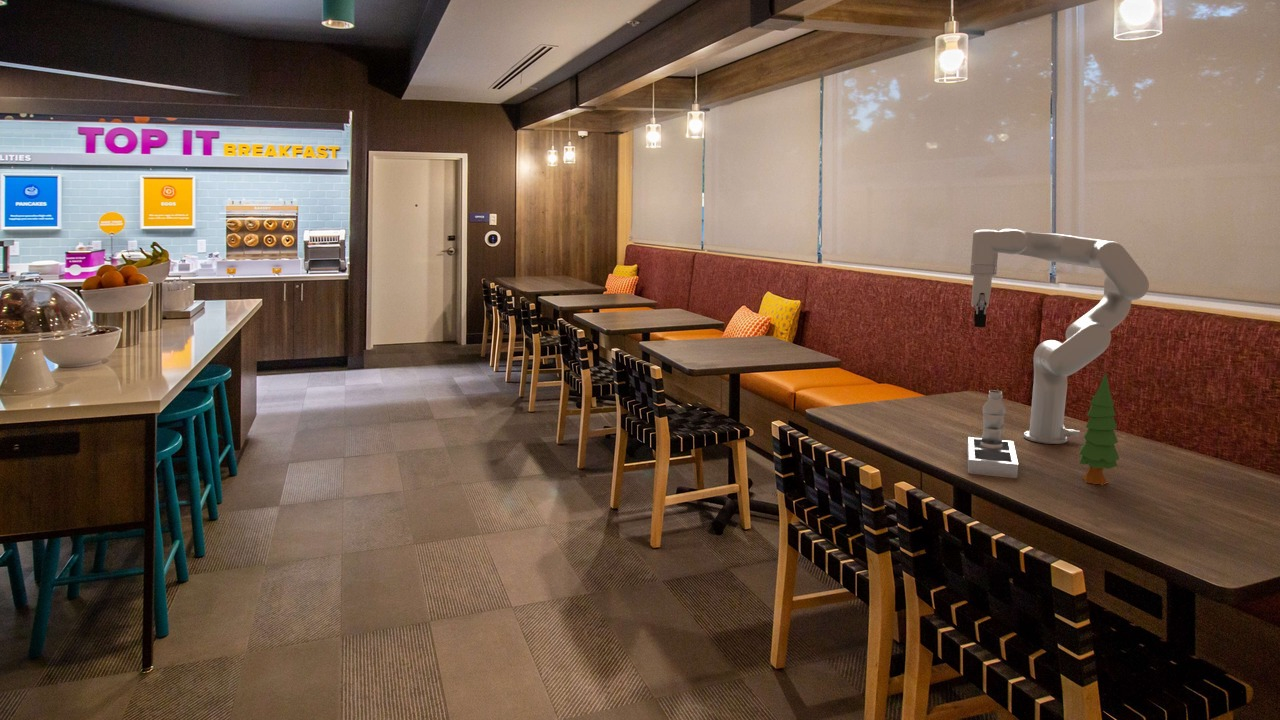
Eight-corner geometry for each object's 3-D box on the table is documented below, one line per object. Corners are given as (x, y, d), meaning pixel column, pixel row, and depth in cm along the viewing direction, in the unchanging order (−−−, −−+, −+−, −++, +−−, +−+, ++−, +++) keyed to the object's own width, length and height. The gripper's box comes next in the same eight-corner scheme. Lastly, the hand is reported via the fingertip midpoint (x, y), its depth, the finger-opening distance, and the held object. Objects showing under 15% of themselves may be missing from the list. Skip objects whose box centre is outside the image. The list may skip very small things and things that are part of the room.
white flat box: (1012, 453, 250) (1013, 441, 249) (1017, 478, 228) (1018, 464, 227) (967, 449, 254) (968, 437, 254) (968, 473, 232) (969, 459, 232)
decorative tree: (1100, 475, 230) (1111, 369, 225) (1125, 486, 221) (1137, 376, 215) (1068, 477, 229) (1078, 370, 223) (1092, 489, 220) (1103, 377, 214)
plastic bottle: (1001, 455, 248) (1006, 390, 245) (1003, 462, 242) (1008, 395, 238) (978, 453, 251) (983, 388, 247) (979, 460, 244) (984, 393, 241)
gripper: (970, 267, 268) (966, 320, 271) (970, 272, 252) (966, 328, 255) (995, 268, 265) (991, 321, 269) (997, 272, 249) (993, 329, 253)
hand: (979, 324), depth 262 cm, fingers open, 9 cm apart
